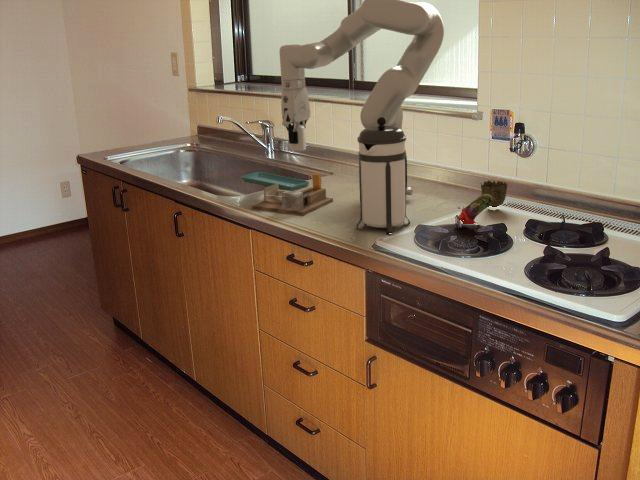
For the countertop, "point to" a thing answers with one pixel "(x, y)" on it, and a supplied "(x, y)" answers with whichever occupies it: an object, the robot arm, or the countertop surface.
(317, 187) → the shaft
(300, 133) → the eye dropper bottle
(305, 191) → the rail board
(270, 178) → the shallow long dish
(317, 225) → the countertop surface
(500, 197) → the green flared piece
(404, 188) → the coffee press
